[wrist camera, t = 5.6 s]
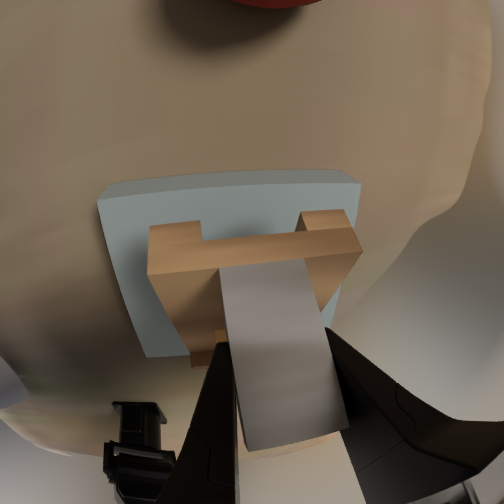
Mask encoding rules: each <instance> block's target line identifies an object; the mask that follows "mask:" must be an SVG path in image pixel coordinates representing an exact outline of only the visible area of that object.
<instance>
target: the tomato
mask: <svg viewBox="0 0 504 504" xmlns="http://www.w3.org/2000/svg"><path fill="white" fill-rule="evenodd" d="M231 1H234V2H237V3H240V4H244V5H249V6H254V7H260V8H288V7H295V6H303V5H309V4H312V3H316V2H318V1H321V0H231Z"/></svg>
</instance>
